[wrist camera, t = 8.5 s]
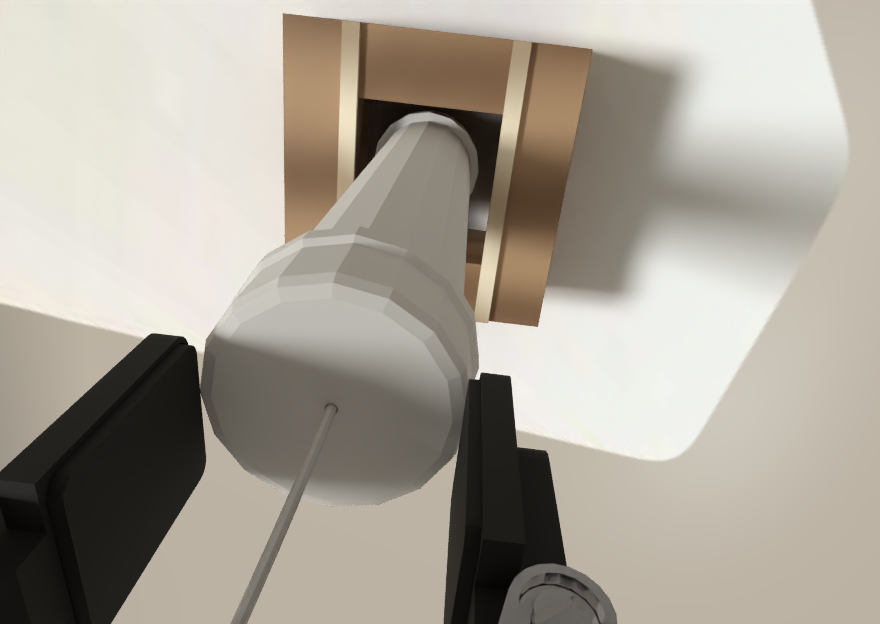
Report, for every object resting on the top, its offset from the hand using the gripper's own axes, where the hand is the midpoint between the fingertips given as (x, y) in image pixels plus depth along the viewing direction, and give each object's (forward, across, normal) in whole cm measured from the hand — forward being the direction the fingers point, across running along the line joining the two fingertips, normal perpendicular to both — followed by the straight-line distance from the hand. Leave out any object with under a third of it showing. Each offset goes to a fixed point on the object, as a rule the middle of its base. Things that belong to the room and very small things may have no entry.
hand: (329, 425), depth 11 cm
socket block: (+26, 0, 0) cm, 26 cm away
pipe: (+25, 0, 0) cm, 25 cm away
